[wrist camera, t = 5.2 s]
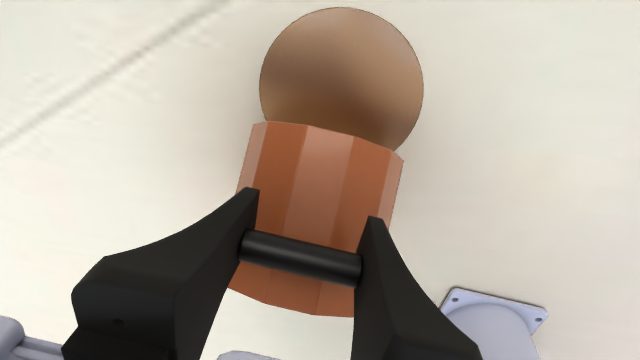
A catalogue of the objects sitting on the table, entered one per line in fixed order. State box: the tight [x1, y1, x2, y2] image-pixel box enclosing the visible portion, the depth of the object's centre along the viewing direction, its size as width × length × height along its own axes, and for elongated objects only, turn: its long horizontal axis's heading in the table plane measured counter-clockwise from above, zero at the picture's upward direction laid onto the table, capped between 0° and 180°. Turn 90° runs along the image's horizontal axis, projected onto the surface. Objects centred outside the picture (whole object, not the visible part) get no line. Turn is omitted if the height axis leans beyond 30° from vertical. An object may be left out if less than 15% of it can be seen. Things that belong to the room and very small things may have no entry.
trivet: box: [259, 8, 423, 151], centre depth 22 cm, size 10×10×1 cm
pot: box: [228, 121, 404, 317], centre depth 19 cm, size 10×8×8 cm
